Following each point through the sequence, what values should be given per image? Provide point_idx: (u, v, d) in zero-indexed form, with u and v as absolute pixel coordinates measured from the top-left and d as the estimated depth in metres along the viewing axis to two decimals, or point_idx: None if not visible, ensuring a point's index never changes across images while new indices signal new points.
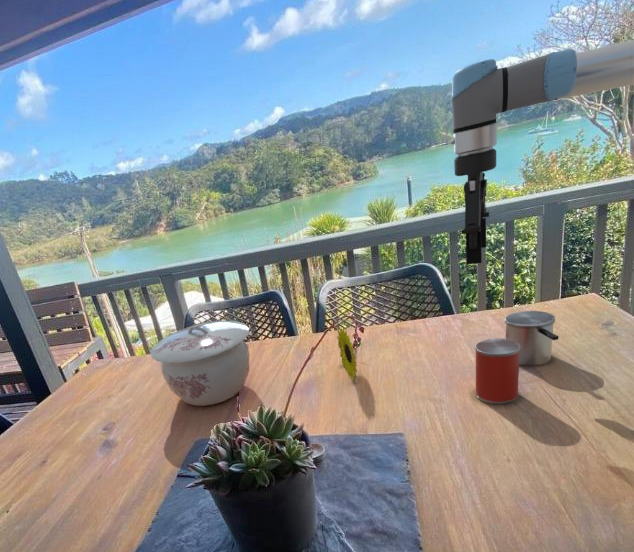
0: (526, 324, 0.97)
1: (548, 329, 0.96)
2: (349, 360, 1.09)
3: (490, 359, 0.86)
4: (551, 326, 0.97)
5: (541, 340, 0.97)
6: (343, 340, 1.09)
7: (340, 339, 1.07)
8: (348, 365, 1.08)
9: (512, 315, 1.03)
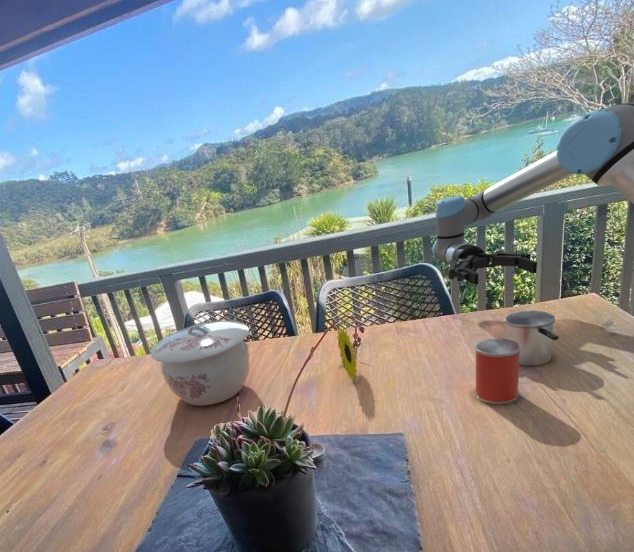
0: (526, 324, 0.97)
1: (548, 329, 0.96)
2: (349, 360, 1.09)
3: (490, 359, 0.86)
4: (551, 326, 0.97)
5: (541, 340, 0.97)
6: (343, 340, 1.09)
7: (340, 339, 1.07)
8: (348, 365, 1.08)
9: (512, 315, 1.03)
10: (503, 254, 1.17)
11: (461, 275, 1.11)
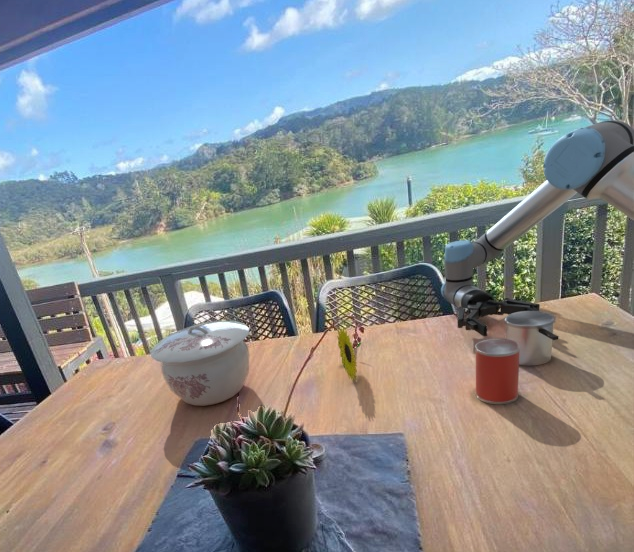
0: (526, 324, 0.97)
1: (548, 329, 0.96)
2: (349, 360, 1.09)
3: (490, 359, 0.86)
4: (551, 326, 0.97)
5: (541, 340, 0.97)
6: (343, 340, 1.09)
7: (340, 339, 1.07)
8: (348, 365, 1.08)
9: (512, 315, 1.03)
10: (512, 302, 1.17)
11: (470, 325, 1.12)
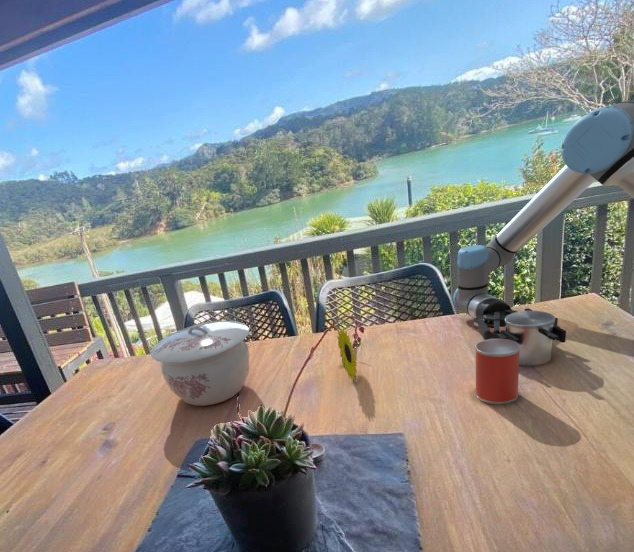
0: (526, 324, 0.97)
1: (548, 329, 0.96)
2: (349, 360, 1.09)
3: (490, 359, 0.86)
4: (551, 326, 0.97)
5: (541, 340, 0.97)
6: (343, 340, 1.09)
7: (340, 339, 1.07)
8: (348, 365, 1.08)
9: (512, 315, 1.03)
10: None
11: (499, 338, 1.02)
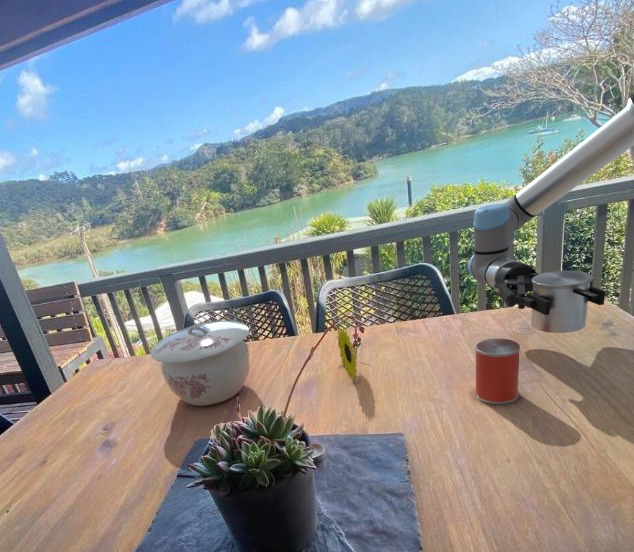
0: (558, 284, 0.84)
1: (584, 289, 0.83)
2: (349, 360, 1.09)
3: (490, 359, 0.86)
4: (587, 286, 0.83)
5: (576, 303, 0.84)
6: (343, 340, 1.09)
7: (340, 339, 1.07)
8: (348, 365, 1.08)
9: (540, 276, 0.89)
10: None
11: (525, 302, 0.89)
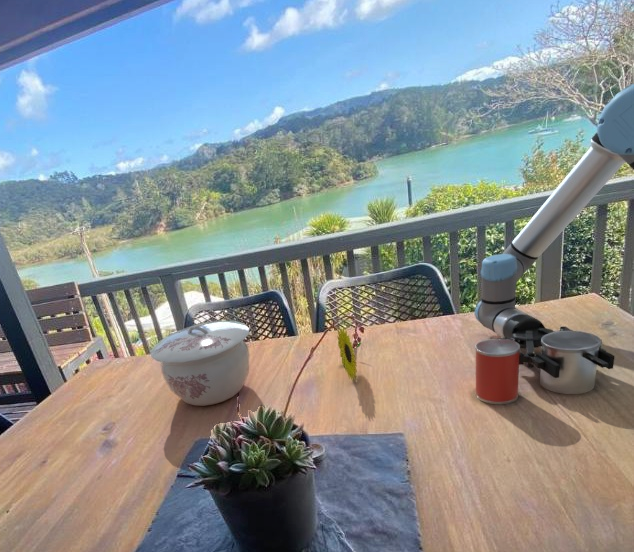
0: (568, 347, 0.84)
1: (594, 353, 0.84)
2: (349, 360, 1.09)
3: (490, 359, 0.86)
4: (597, 350, 0.84)
5: (585, 366, 0.84)
6: (343, 340, 1.09)
7: (340, 339, 1.07)
8: (348, 365, 1.08)
9: (549, 336, 0.90)
10: None
11: (534, 362, 0.89)
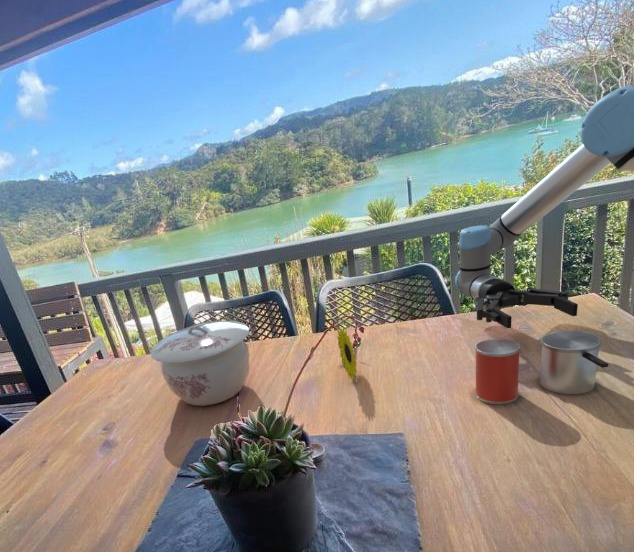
0: (568, 347, 0.84)
1: (594, 353, 0.84)
2: (349, 360, 1.09)
3: (490, 359, 0.86)
4: (597, 350, 0.84)
5: (585, 366, 0.84)
6: (343, 340, 1.09)
7: (340, 339, 1.07)
8: (348, 365, 1.08)
9: (549, 336, 0.90)
10: (536, 291, 1.06)
11: (491, 316, 1.01)
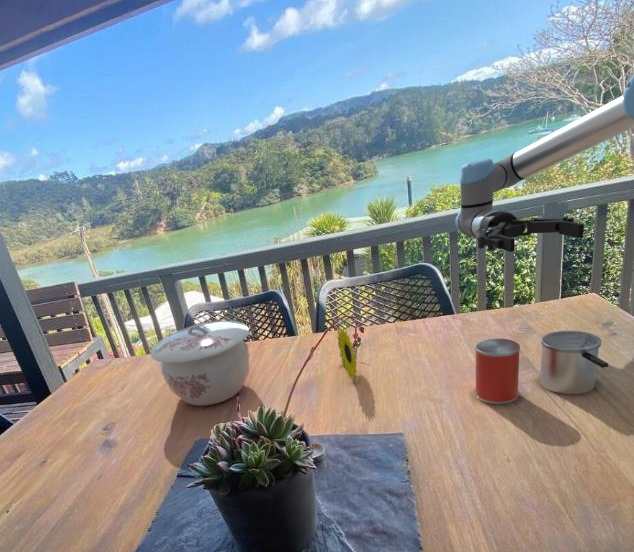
0: (568, 347, 0.84)
1: (594, 353, 0.84)
2: (349, 360, 1.09)
3: (490, 359, 0.86)
4: (597, 350, 0.84)
5: (585, 366, 0.84)
6: (343, 340, 1.09)
7: (340, 339, 1.07)
8: (348, 365, 1.08)
9: (549, 336, 0.90)
10: (540, 220, 1.02)
11: (493, 242, 0.97)
